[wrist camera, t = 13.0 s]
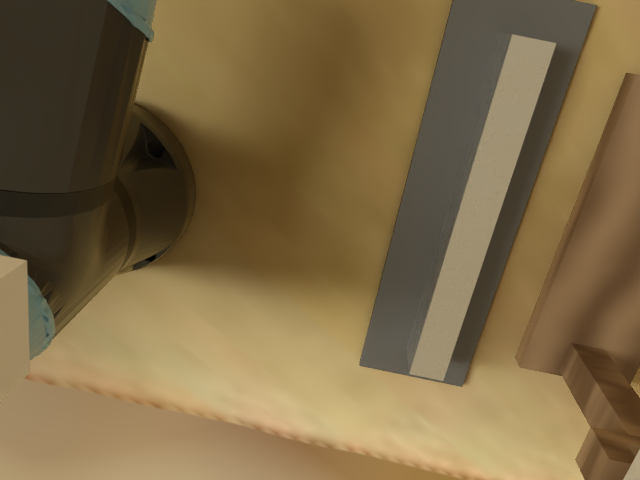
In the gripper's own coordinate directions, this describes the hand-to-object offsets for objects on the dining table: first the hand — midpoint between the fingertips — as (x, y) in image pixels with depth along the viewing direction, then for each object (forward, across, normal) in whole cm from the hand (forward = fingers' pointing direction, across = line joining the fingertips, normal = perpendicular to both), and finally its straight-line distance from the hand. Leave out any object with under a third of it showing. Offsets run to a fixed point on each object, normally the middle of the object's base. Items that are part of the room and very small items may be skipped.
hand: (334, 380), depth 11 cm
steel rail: (+34, +10, -6) cm, 36 cm away
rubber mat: (+35, +10, -6) cm, 37 cm away
